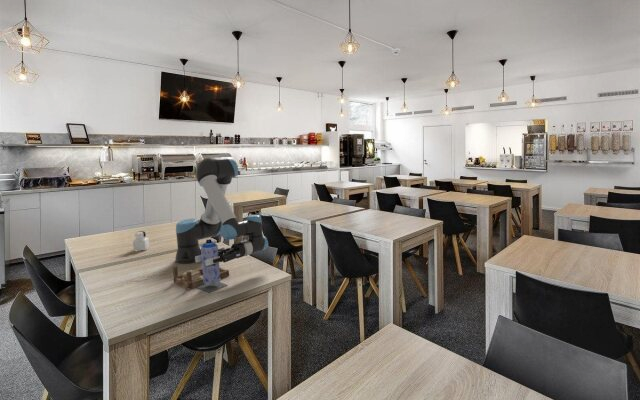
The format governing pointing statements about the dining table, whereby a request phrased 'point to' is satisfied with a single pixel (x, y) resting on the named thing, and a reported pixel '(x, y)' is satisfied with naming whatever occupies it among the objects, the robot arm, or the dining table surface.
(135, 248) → the medicine bottle
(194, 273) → the offcut top
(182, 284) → the rack
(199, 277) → the offcut low
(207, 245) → the aerosol can
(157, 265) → the dining table surface
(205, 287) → the mat
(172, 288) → the dining table surface
